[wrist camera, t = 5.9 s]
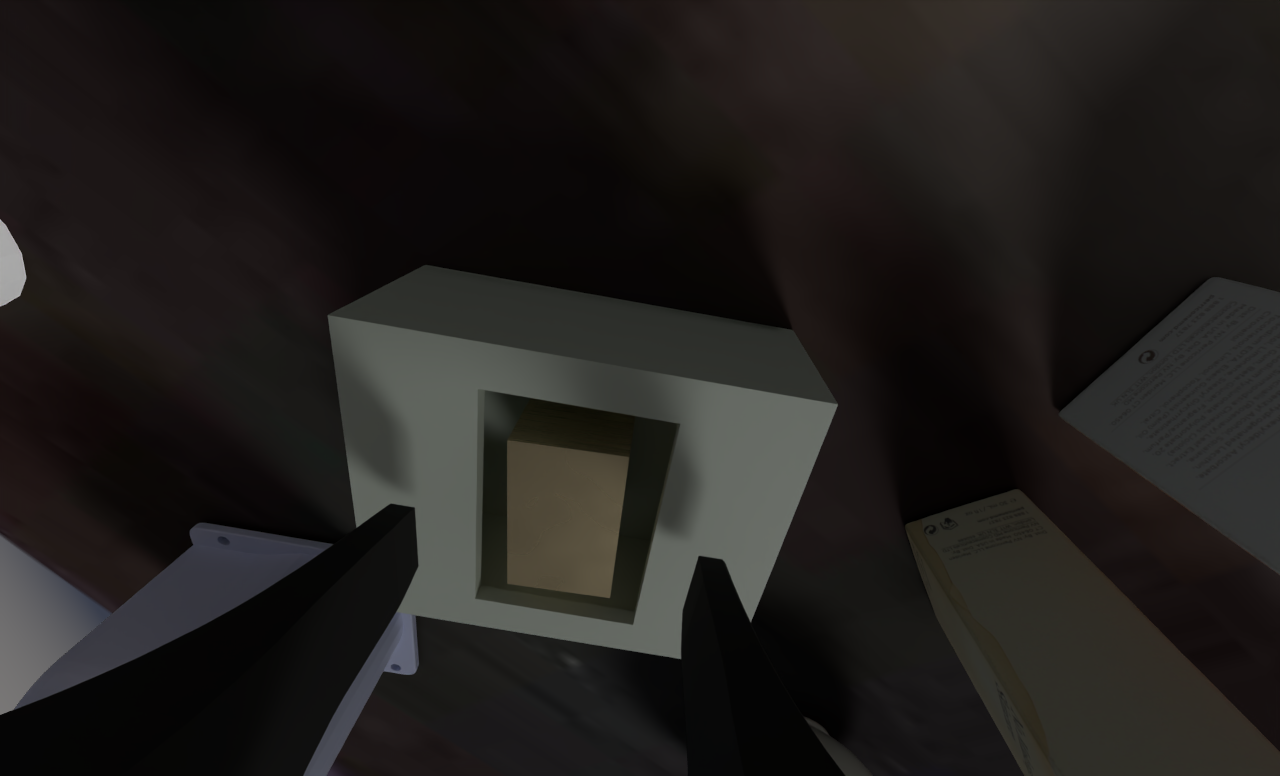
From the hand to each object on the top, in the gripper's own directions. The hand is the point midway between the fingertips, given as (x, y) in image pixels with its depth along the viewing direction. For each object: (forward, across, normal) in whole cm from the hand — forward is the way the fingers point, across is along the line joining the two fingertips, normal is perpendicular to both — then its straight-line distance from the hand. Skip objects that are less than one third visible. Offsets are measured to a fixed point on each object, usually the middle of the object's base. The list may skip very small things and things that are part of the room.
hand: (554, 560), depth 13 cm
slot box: (+6, 0, 0) cm, 6 cm away
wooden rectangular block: (+6, 0, 0) cm, 6 cm away
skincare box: (+7, -16, +3) cm, 18 cm away
